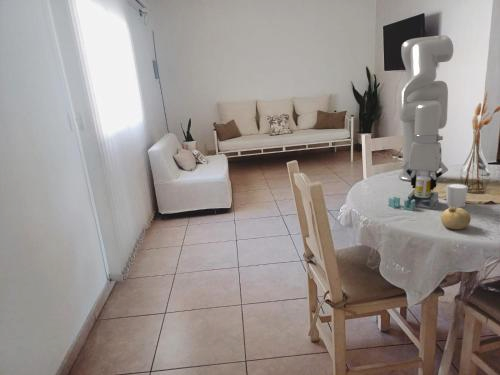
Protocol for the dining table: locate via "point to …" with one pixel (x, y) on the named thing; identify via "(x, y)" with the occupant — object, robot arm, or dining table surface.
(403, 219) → the dining table surface
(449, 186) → the white cup
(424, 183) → the supplement bottle
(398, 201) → the clip
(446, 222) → the onion
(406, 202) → the clip
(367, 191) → the dining table surface
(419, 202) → the holder
